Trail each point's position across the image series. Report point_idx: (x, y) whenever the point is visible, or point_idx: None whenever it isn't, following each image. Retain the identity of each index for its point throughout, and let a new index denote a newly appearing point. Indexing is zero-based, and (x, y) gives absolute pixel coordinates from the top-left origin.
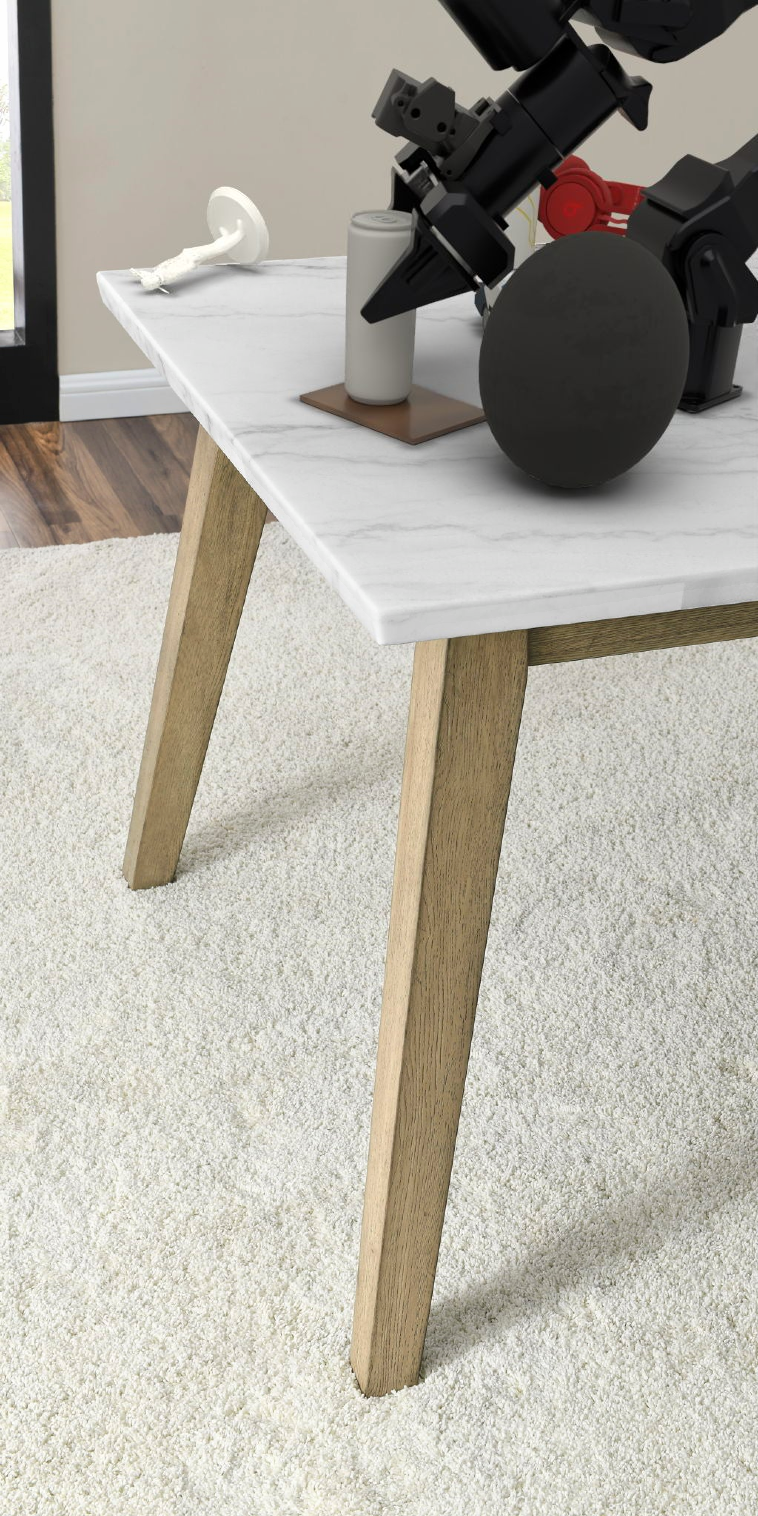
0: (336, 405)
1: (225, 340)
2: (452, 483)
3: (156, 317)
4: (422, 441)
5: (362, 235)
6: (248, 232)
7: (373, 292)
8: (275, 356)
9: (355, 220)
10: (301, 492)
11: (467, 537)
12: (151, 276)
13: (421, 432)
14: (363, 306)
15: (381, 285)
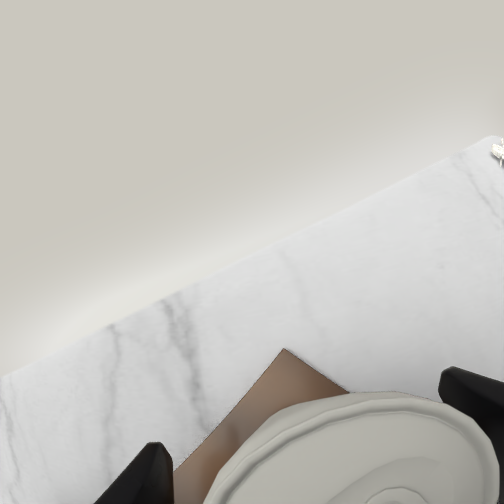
0: (254, 400)
1: (444, 226)
2: (79, 500)
3: (458, 166)
4: None
5: (223, 470)
6: None
7: (139, 473)
8: (426, 284)
9: (269, 444)
10: (47, 369)
11: (8, 476)
12: (499, 148)
13: (179, 498)
14: (147, 449)
15: (111, 489)
